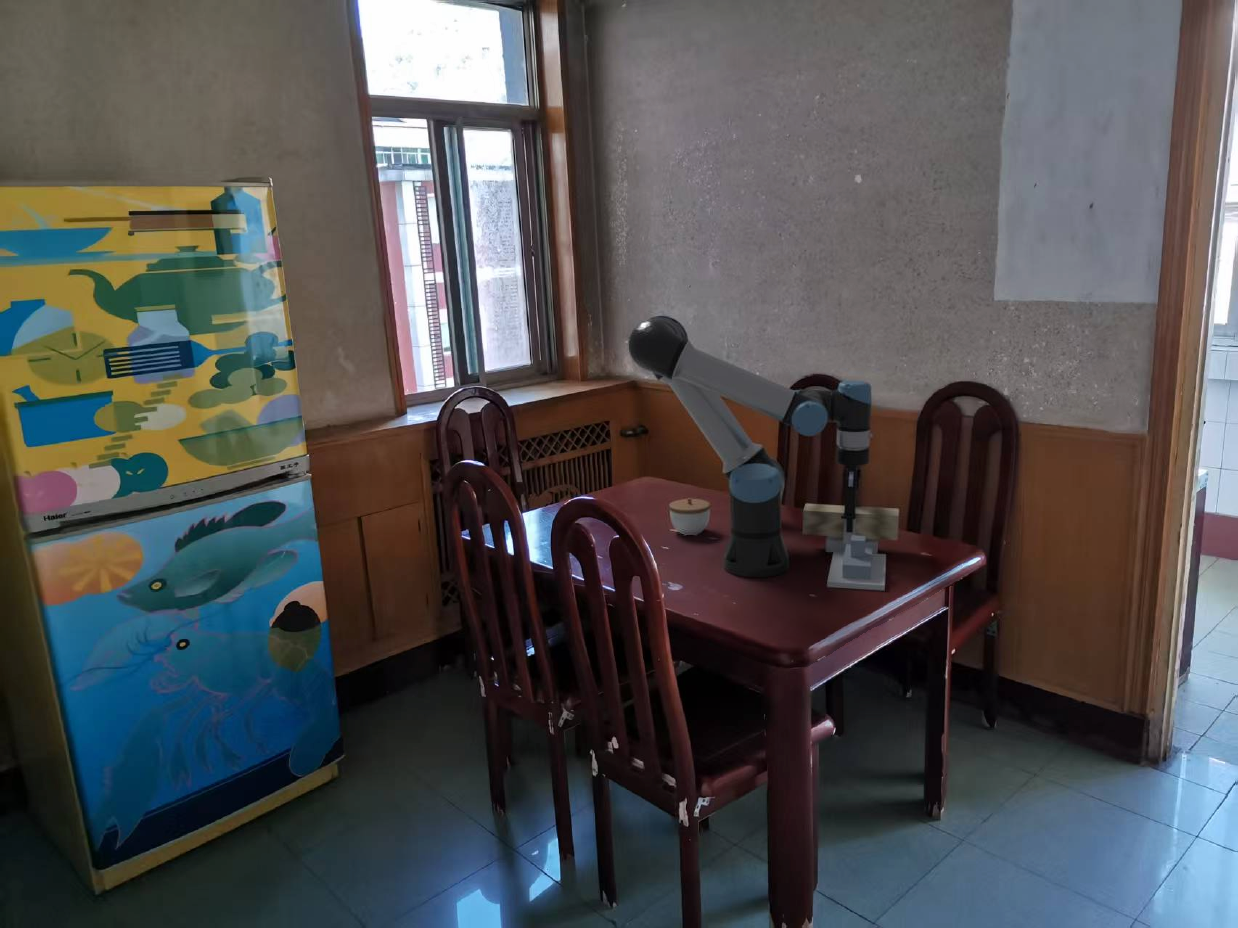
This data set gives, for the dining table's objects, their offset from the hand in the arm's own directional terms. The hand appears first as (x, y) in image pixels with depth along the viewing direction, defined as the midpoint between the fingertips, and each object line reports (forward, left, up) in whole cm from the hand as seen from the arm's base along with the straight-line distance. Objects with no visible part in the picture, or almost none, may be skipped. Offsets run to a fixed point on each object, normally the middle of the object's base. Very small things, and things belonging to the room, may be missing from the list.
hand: (849, 539), depth 213 cm
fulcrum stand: (+3, -15, -3) cm, 15 cm away
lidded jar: (-41, +8, -3) cm, 42 cm away
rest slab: (+1, 0, -3) cm, 3 cm away
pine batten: (0, 0, +2) cm, 2 cm away
